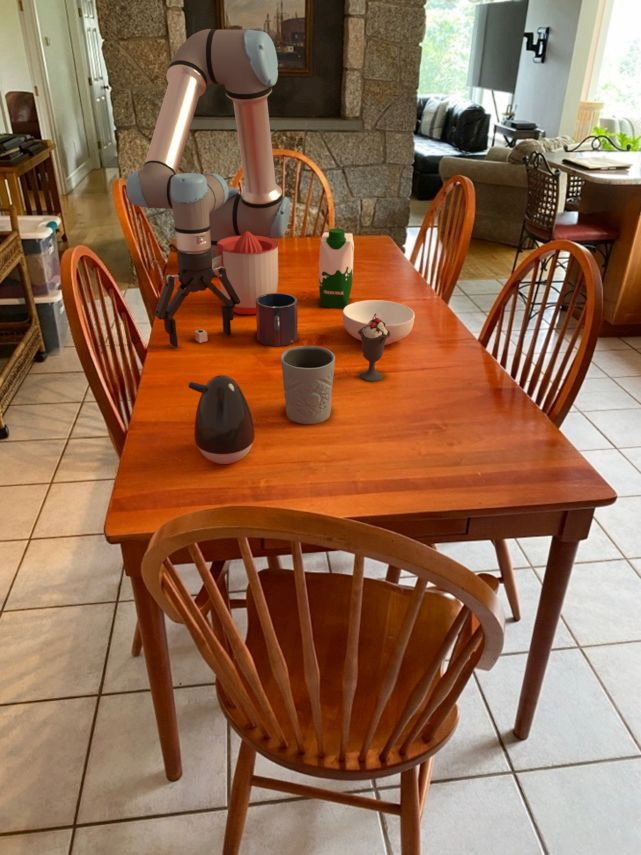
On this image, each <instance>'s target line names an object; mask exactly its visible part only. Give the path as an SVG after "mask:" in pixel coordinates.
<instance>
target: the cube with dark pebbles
mask: <svg viewBox="0 0 641 855" xmlns="http://www.w3.org/2000/svg"><path fill="white" fill-rule="evenodd" d="M208 339H209V338H208V331H206V330H204V329H203V328H201V329H197V330H194V340H195V341H196V342H198V343H199V344H201V343H205V342H208V341H209V340H208Z"/></svg>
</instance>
